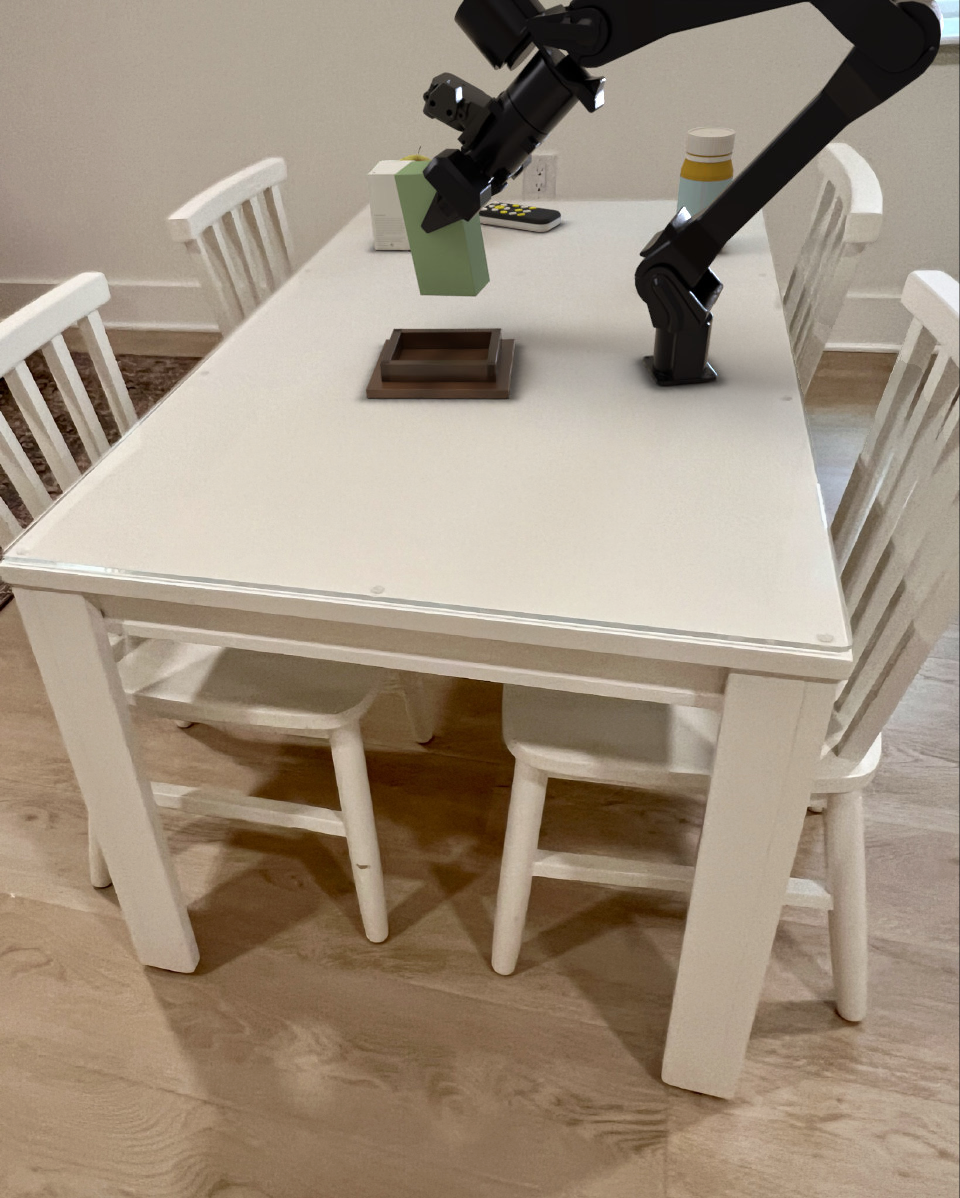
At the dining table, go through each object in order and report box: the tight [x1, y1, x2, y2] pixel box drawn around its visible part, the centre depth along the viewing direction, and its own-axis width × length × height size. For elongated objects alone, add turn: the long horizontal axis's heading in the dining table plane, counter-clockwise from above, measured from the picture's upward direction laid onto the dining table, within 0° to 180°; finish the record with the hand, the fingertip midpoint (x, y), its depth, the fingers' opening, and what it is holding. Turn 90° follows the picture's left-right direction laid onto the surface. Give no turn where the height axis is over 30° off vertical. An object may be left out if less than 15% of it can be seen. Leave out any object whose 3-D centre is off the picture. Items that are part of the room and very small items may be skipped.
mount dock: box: [365, 327, 516, 399], centre depth 97 cm, size 15×13×3 cm
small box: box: [365, 159, 412, 251], centre depth 130 cm, size 8×6×10 cm
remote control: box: [479, 201, 562, 233], centre depth 138 cm, size 6×13×2 cm, turn 58°
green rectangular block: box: [394, 161, 491, 298], centre depth 96 cm, size 4×7×13 cm, turn 66°
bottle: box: [675, 126, 736, 217], centre depth 121 cm, size 7×7×15 cm
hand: (432, 223), depth 96 cm, fingers closed on green rectangular block, 4 cm apart
